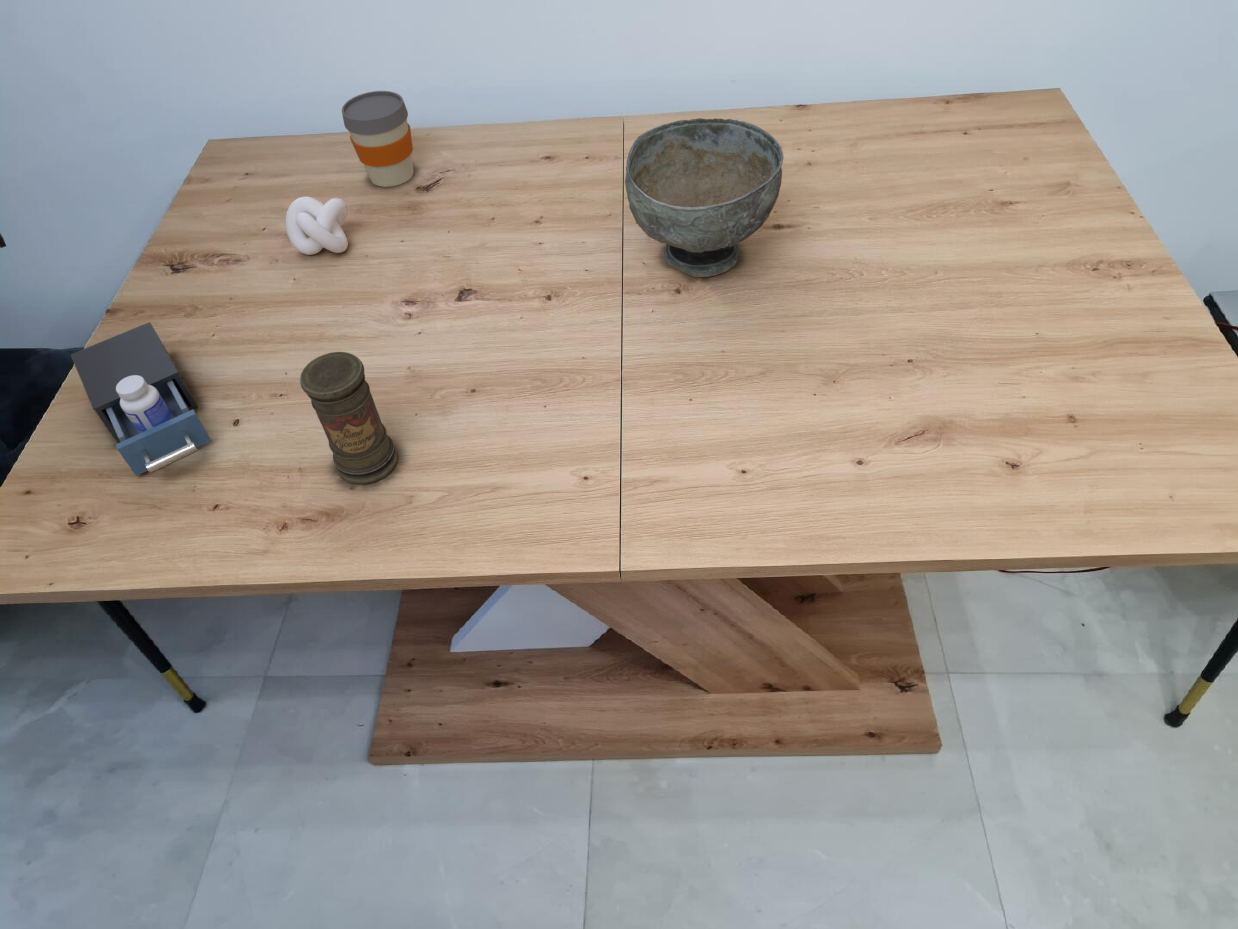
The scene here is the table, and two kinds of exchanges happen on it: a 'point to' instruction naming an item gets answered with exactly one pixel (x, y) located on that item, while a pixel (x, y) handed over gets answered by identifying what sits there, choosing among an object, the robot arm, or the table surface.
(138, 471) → the drawer
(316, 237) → the white knot sculpture
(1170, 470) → the table surface
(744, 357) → the table surface
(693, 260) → the decorative bowl
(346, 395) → the container
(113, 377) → the small cabinet
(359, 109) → the reusable coffee cup
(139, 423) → the pill bottle
